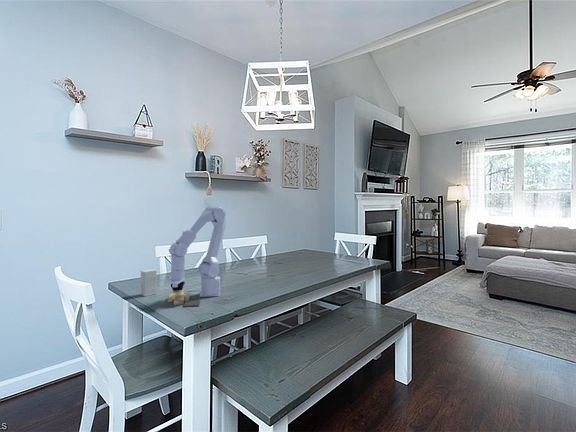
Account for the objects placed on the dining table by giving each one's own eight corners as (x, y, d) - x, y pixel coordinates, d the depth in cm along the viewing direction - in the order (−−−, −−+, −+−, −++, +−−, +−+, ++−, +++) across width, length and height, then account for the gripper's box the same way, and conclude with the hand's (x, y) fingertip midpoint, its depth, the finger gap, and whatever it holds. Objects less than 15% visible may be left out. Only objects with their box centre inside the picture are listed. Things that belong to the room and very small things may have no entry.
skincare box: (152, 292, 149) (152, 268, 148) (156, 293, 146) (156, 270, 145) (140, 294, 144) (140, 270, 143) (144, 296, 141) (144, 272, 141)
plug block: (183, 299, 135) (183, 289, 134) (183, 304, 132) (183, 294, 130) (174, 299, 134) (174, 290, 132) (173, 305, 130) (173, 295, 129)
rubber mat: (200, 301, 136) (200, 300, 136) (198, 306, 129) (198, 304, 129) (186, 302, 134) (186, 300, 134) (183, 306, 128) (183, 305, 128)
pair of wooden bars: (189, 297, 142) (189, 292, 142) (187, 301, 136) (187, 296, 136) (170, 297, 140) (170, 293, 140) (167, 301, 134) (167, 297, 134)
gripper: (171, 266, 141) (171, 294, 141) (165, 273, 127) (165, 304, 127) (187, 265, 142) (187, 293, 143) (182, 272, 128) (182, 303, 128)
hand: (177, 298), depth 135 cm, fingers closed
